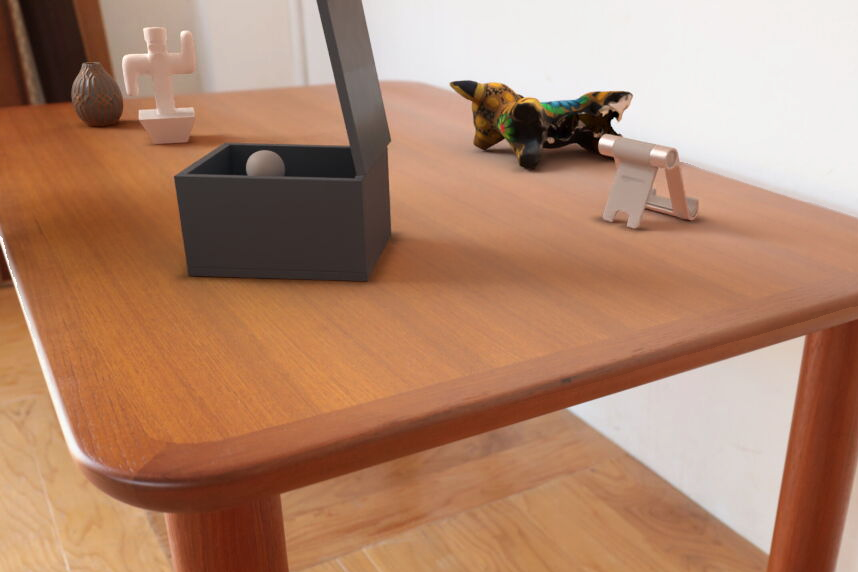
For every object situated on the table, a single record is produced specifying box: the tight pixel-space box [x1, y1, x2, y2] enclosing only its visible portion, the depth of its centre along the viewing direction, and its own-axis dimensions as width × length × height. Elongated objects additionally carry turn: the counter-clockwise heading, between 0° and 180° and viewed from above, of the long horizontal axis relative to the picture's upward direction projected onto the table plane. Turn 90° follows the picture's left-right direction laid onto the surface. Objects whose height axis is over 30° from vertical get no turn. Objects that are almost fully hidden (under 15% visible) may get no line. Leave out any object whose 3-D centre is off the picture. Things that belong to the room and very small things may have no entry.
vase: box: [70, 61, 124, 127], centre depth 132 cm, size 7×7×9 cm
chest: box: [173, 142, 392, 282], centre depth 81 cm, size 16×13×9 cm
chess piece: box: [246, 150, 285, 177], centre depth 80 cm, size 5×5×9 cm
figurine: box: [121, 26, 197, 145], centre depth 122 cm, size 7×9×15 cm
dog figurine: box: [448, 79, 634, 170], centre depth 119 cm, size 20×12×18 cm
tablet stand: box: [598, 134, 700, 230], centre depth 93 cm, size 9×8×8 cm
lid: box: [315, 0, 392, 176], centre depth 75 cm, size 16×13×9 cm
